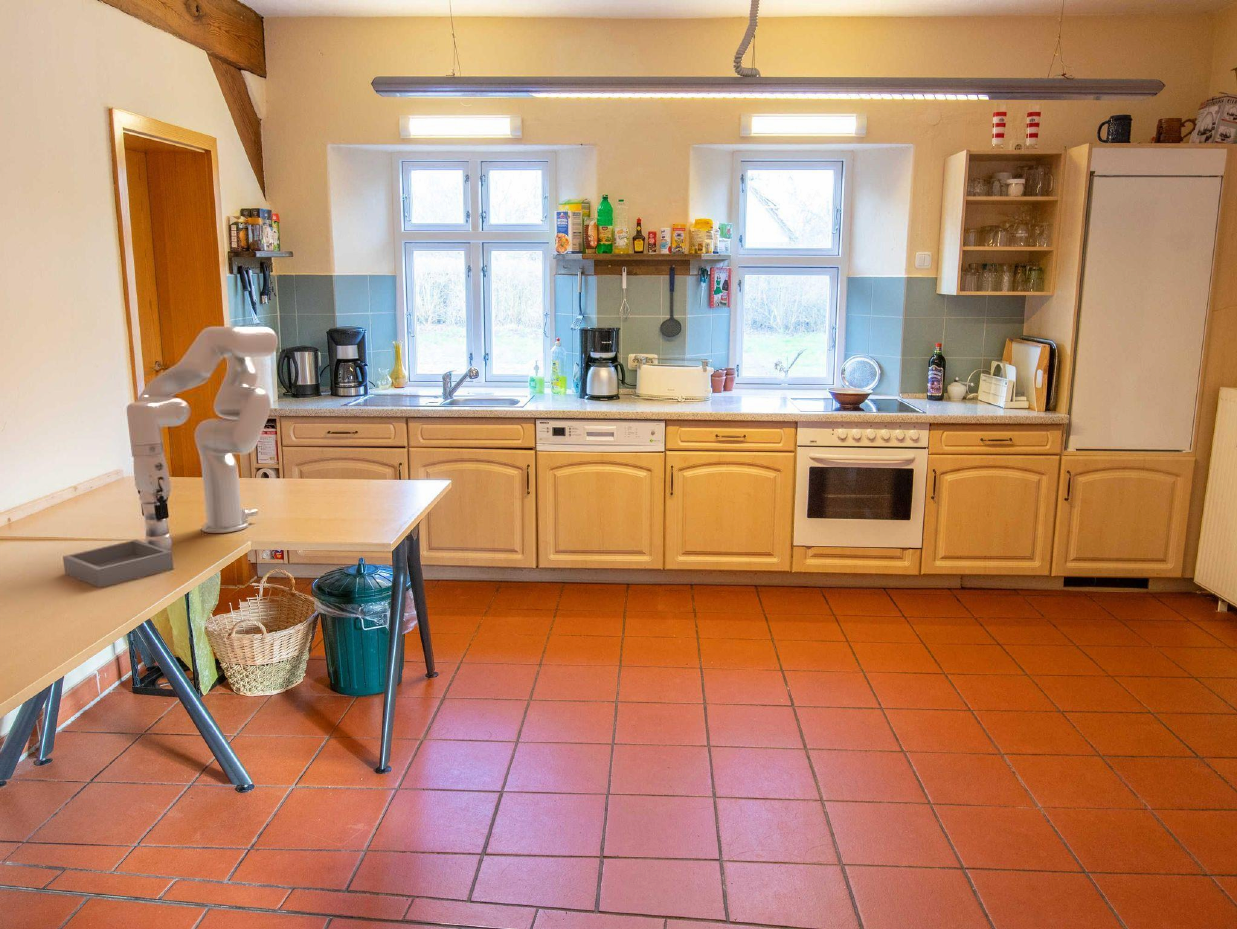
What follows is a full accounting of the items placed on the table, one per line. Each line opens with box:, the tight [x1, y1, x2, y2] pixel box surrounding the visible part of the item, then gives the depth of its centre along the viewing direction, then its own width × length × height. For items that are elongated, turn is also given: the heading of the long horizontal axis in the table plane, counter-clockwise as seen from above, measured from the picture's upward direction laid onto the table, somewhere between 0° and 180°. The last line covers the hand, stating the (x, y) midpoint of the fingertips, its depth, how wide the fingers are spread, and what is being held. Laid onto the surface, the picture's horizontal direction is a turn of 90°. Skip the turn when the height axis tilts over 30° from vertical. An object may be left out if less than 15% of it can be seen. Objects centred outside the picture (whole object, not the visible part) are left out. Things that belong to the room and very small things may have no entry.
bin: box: [62, 539, 175, 589], centre depth 241 cm, size 18×18×4 cm
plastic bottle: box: [139, 490, 173, 551], centre depth 255 cm, size 6×7×20 cm
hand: (155, 516), depth 255 cm, fingers closed on plastic bottle, 6 cm apart
